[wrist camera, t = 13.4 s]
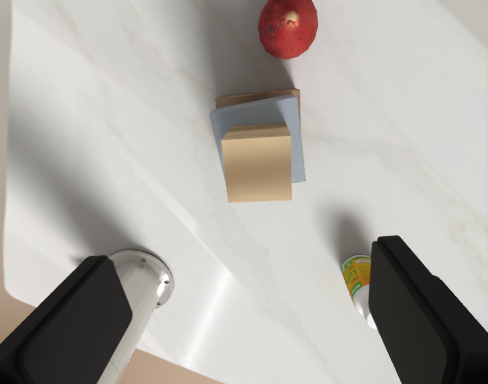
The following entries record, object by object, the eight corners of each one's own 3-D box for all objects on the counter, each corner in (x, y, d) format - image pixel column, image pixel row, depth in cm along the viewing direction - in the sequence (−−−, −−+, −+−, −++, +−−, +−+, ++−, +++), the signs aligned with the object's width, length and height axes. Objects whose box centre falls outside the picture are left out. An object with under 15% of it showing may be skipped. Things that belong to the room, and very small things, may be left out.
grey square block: (233, 175, 32) (227, 192, 27) (218, 107, 29) (209, 113, 24) (300, 165, 31) (305, 181, 26) (292, 93, 28) (297, 97, 23)
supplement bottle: (344, 252, 40) (365, 301, 32) (380, 254, 40) (411, 305, 31) (338, 279, 43) (356, 332, 34) (372, 282, 42) (400, 336, 33)
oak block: (231, 126, 24) (221, 140, 19) (285, 122, 24) (291, 135, 18) (236, 176, 26) (228, 202, 21) (286, 174, 26) (291, 200, 20)
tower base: (231, 164, 36) (226, 177, 32) (222, 96, 33) (215, 99, 28) (297, 159, 35) (301, 171, 31) (295, 88, 32) (299, 89, 27)
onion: (264, 66, 31) (263, 62, 24) (254, 9, 29) (250, -14, 22) (314, 54, 30) (329, 46, 23) (308, -6, 28) (323, -35, 21)
